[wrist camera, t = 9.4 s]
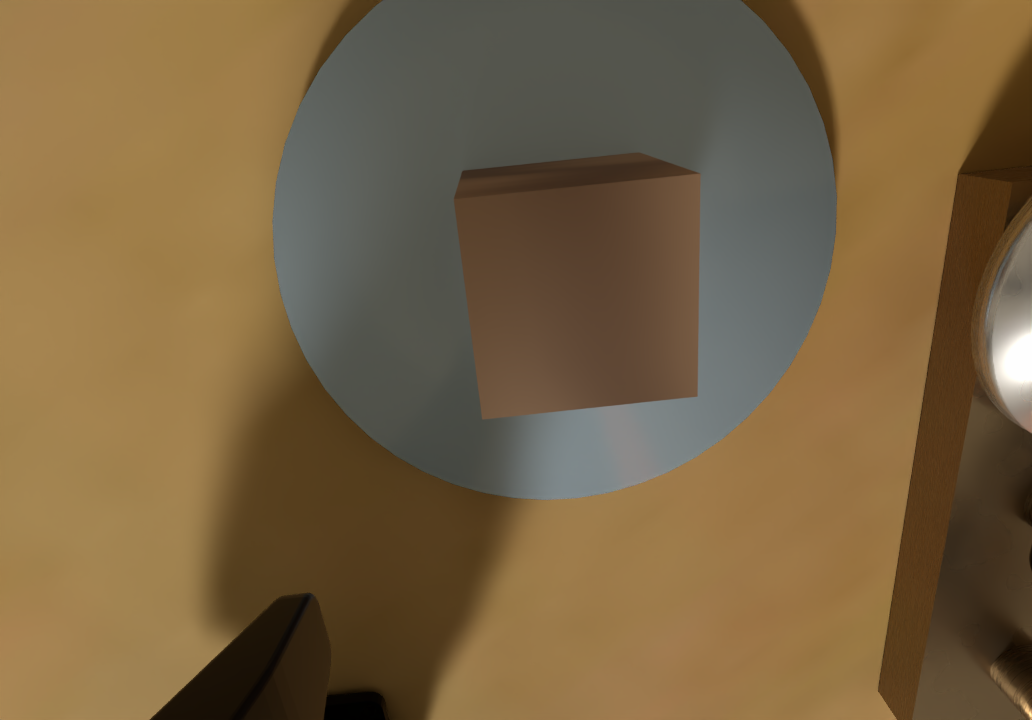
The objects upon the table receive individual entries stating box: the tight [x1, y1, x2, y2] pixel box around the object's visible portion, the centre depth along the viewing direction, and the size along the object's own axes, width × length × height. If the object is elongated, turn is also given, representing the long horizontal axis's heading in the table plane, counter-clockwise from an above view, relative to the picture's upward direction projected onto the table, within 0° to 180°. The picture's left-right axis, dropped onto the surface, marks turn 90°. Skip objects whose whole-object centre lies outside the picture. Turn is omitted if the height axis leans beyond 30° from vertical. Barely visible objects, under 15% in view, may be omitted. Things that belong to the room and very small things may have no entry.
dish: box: [273, 0, 837, 500], centre depth 18 cm, size 15×15×1 cm
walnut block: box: [454, 152, 701, 420], centre depth 15 cm, size 4×4×5 cm
